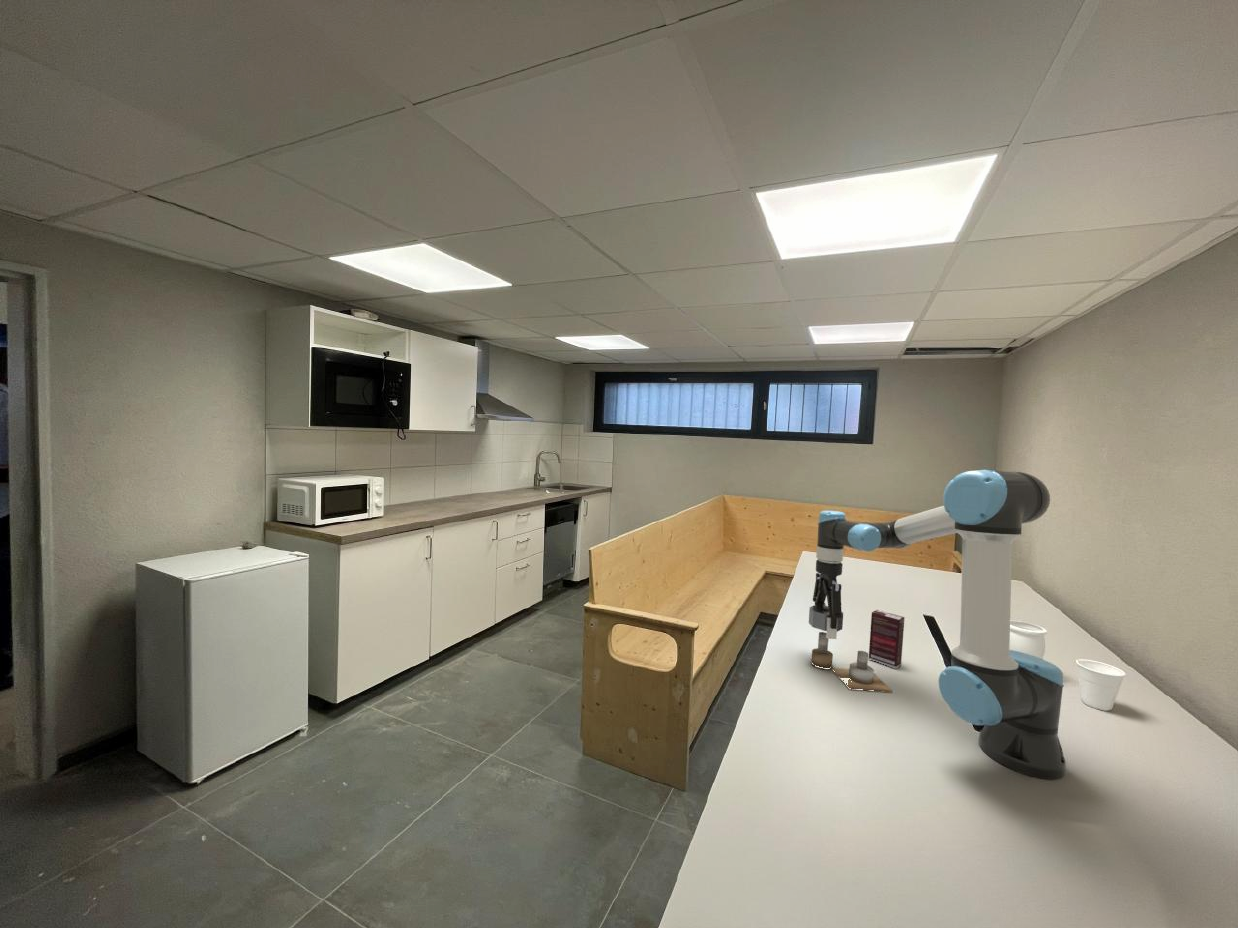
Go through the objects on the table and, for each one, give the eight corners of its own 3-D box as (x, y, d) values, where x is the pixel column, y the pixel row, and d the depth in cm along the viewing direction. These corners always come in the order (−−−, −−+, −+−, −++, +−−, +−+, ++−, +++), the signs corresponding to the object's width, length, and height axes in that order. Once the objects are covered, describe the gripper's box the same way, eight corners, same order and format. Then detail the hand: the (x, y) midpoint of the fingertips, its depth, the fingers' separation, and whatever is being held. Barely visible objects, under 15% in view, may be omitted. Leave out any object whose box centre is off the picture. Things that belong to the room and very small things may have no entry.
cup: (1132, 717, 130) (1136, 677, 129) (1088, 711, 132) (1093, 672, 131) (1103, 699, 139) (1107, 661, 139) (1063, 693, 141) (1067, 656, 141)
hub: (892, 692, 136) (894, 663, 136) (849, 689, 137) (851, 660, 136) (871, 672, 148) (873, 645, 148) (831, 669, 149) (833, 642, 148)
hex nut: (846, 632, 146) (847, 615, 146) (816, 630, 146) (817, 614, 146) (833, 621, 155) (834, 606, 155) (805, 619, 155) (806, 604, 155)
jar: (1026, 666, 159) (1030, 621, 159) (1051, 681, 149) (1055, 633, 148) (991, 662, 160) (996, 618, 160) (1014, 677, 150) (1018, 630, 149)
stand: (835, 670, 149) (837, 638, 148) (815, 668, 149) (817, 636, 148) (827, 661, 155) (829, 630, 154) (808, 660, 155) (810, 629, 154)
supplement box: (901, 665, 154) (905, 616, 154) (896, 669, 151) (900, 620, 150) (872, 655, 161) (876, 608, 160) (867, 659, 158) (871, 611, 157)
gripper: (857, 570, 139) (852, 647, 140) (827, 553, 161) (823, 620, 162) (831, 568, 139) (826, 645, 140) (804, 552, 161) (800, 619, 162)
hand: (824, 632), depth 151 cm, fingers closed on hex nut, 9 cm apart
